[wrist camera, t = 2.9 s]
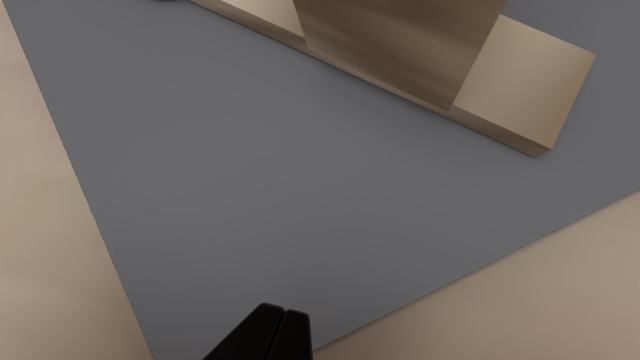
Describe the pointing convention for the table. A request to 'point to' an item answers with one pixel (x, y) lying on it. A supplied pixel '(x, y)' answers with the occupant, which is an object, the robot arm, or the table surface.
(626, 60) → the base board
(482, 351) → the table surface
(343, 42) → the link
